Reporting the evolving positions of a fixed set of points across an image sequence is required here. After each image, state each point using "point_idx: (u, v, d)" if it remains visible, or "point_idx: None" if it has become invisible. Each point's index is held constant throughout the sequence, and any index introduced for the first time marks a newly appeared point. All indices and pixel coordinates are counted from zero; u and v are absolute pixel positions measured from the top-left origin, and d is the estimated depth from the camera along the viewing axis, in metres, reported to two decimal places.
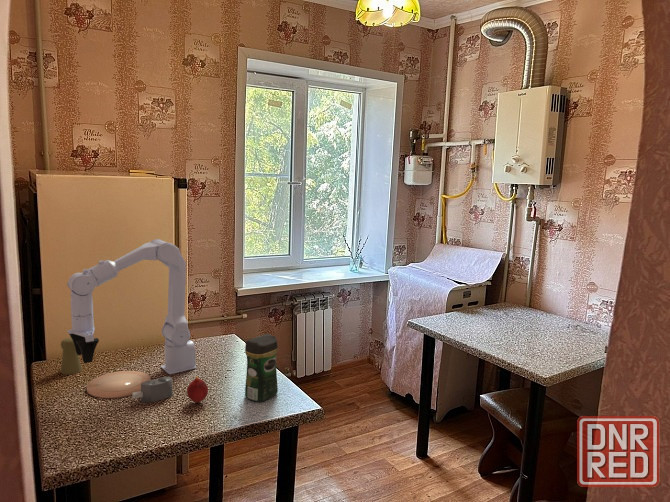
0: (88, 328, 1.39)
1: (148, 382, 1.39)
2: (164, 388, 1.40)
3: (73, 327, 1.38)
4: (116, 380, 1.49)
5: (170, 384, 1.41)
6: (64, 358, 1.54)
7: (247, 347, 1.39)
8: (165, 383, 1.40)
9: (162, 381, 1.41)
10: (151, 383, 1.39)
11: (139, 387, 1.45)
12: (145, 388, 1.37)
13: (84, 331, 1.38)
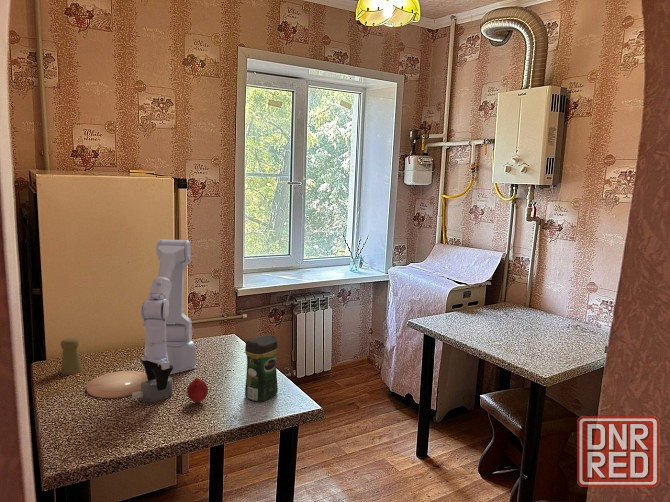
0: (162, 355, 1.37)
1: (148, 382, 1.39)
2: None
3: (147, 354, 1.36)
4: (116, 380, 1.49)
5: (170, 384, 1.41)
6: (64, 358, 1.54)
7: (247, 347, 1.39)
8: None
9: None
10: (151, 383, 1.39)
11: (139, 387, 1.45)
12: (145, 388, 1.37)
13: (158, 358, 1.36)
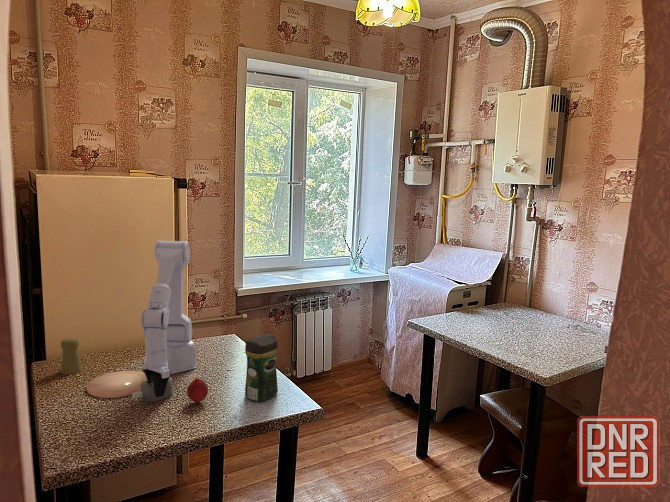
0: (162, 363, 1.38)
1: (148, 382, 1.39)
2: None
3: (147, 362, 1.37)
4: (116, 380, 1.49)
5: (170, 384, 1.41)
6: (64, 358, 1.54)
7: (247, 347, 1.39)
8: None
9: None
10: (151, 383, 1.39)
11: (139, 387, 1.45)
12: (145, 388, 1.37)
13: (159, 366, 1.37)
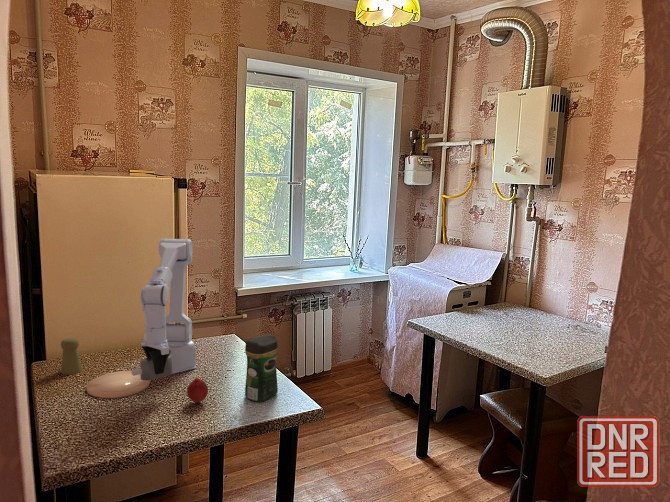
0: (161, 340, 1.36)
1: (147, 359, 1.38)
2: None
3: (147, 339, 1.36)
4: (116, 380, 1.49)
5: (169, 361, 1.40)
6: (64, 358, 1.54)
7: (247, 347, 1.39)
8: None
9: None
10: (150, 360, 1.38)
11: (139, 387, 1.45)
12: (144, 365, 1.36)
13: (158, 343, 1.36)
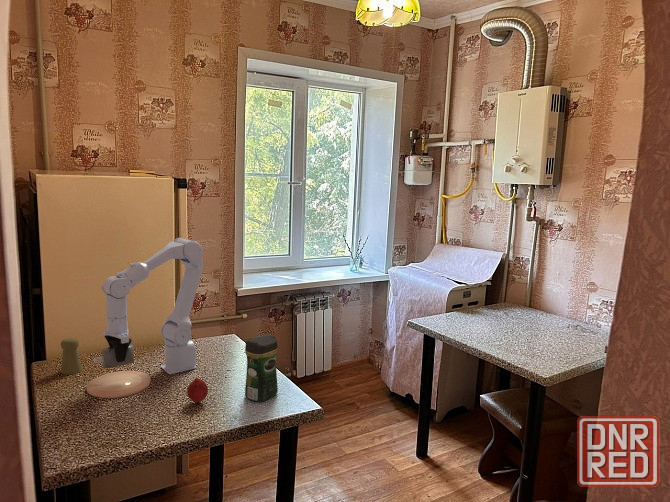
0: (122, 330, 1.44)
1: (109, 348, 1.45)
2: None
3: (108, 329, 1.43)
4: (116, 380, 1.49)
5: (130, 350, 1.47)
6: (64, 358, 1.54)
7: (247, 347, 1.39)
8: None
9: None
10: (112, 349, 1.45)
11: (139, 387, 1.45)
12: (106, 353, 1.43)
13: (119, 333, 1.43)
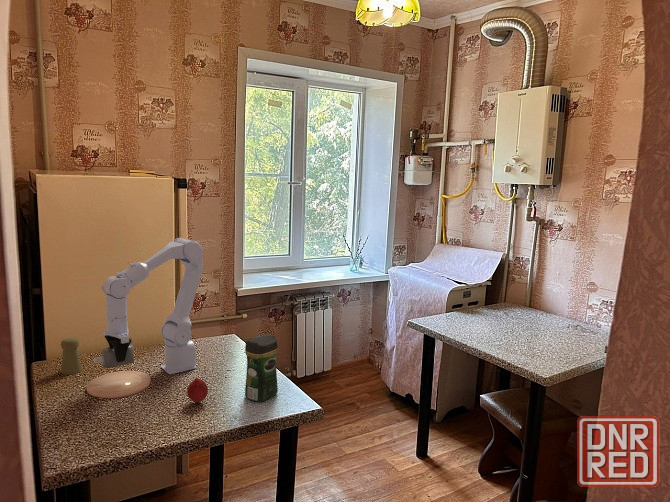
0: (122, 330, 1.44)
1: (109, 348, 1.45)
2: None
3: (108, 329, 1.43)
4: (116, 380, 1.49)
5: (130, 350, 1.47)
6: (64, 358, 1.54)
7: (247, 347, 1.39)
8: None
9: None
10: (112, 349, 1.45)
11: (139, 387, 1.45)
12: (106, 353, 1.43)
13: (119, 333, 1.43)
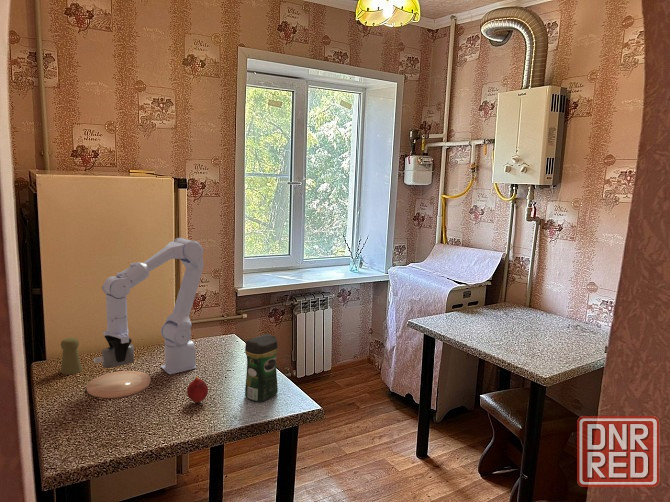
0: (122, 330, 1.44)
1: (109, 348, 1.45)
2: None
3: (108, 329, 1.43)
4: (116, 380, 1.49)
5: (130, 350, 1.47)
6: (64, 358, 1.54)
7: (247, 347, 1.39)
8: None
9: None
10: (112, 349, 1.45)
11: (139, 387, 1.45)
12: (106, 353, 1.43)
13: (119, 333, 1.43)
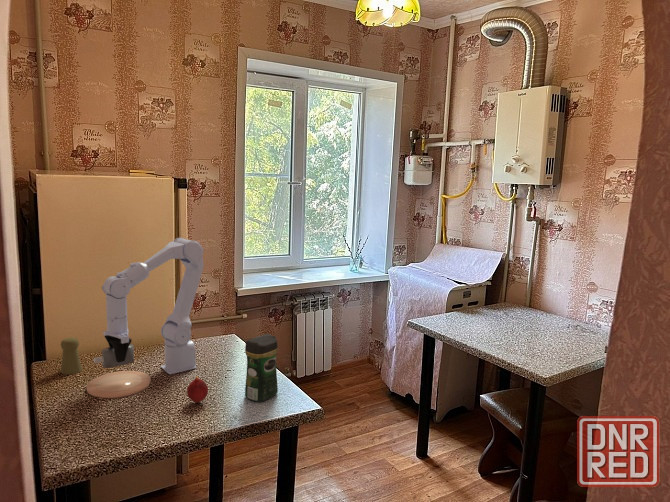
0: (122, 330, 1.44)
1: (109, 348, 1.45)
2: None
3: (108, 329, 1.43)
4: (116, 380, 1.49)
5: (130, 350, 1.47)
6: (64, 358, 1.54)
7: (247, 347, 1.39)
8: None
9: None
10: (112, 349, 1.45)
11: (139, 387, 1.45)
12: (106, 353, 1.43)
13: (119, 333, 1.43)
